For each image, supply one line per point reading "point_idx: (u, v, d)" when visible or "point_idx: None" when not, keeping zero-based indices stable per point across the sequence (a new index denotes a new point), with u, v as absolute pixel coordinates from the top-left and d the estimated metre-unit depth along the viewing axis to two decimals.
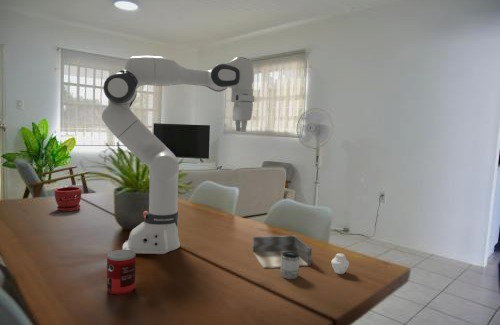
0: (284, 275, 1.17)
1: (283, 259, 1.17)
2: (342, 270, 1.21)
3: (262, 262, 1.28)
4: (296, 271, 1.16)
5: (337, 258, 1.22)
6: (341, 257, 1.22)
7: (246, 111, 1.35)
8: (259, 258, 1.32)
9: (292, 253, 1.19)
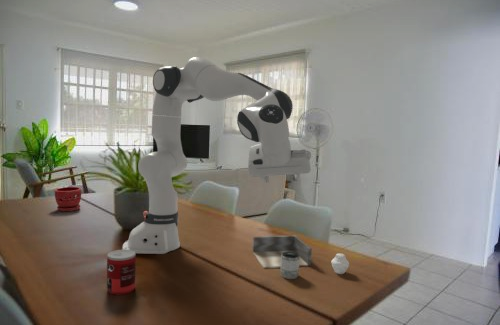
0: (284, 275, 1.17)
1: (283, 259, 1.17)
2: (342, 270, 1.21)
3: (262, 262, 1.28)
4: (296, 271, 1.16)
5: (337, 258, 1.22)
6: (341, 257, 1.22)
7: None
8: (259, 258, 1.32)
9: (292, 253, 1.19)
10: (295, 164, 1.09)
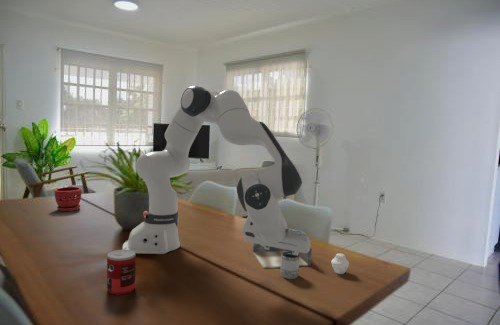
0: (284, 275, 1.17)
1: (283, 259, 1.17)
2: (342, 270, 1.21)
3: (262, 262, 1.28)
4: (296, 271, 1.16)
5: (337, 258, 1.22)
6: (341, 257, 1.22)
7: None
8: (259, 258, 1.32)
9: None
10: (290, 243, 1.01)
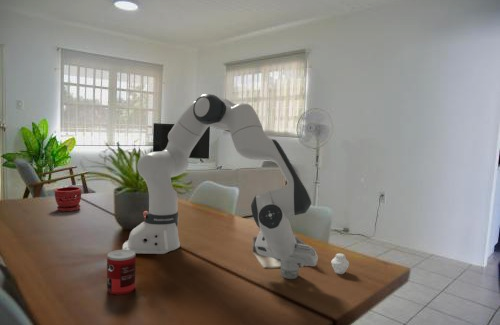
0: (284, 275, 1.17)
1: None
2: (342, 270, 1.21)
3: (262, 262, 1.28)
4: (296, 271, 1.16)
5: (337, 258, 1.22)
6: (341, 257, 1.22)
7: None
8: (259, 258, 1.32)
9: None
10: (299, 257, 1.10)
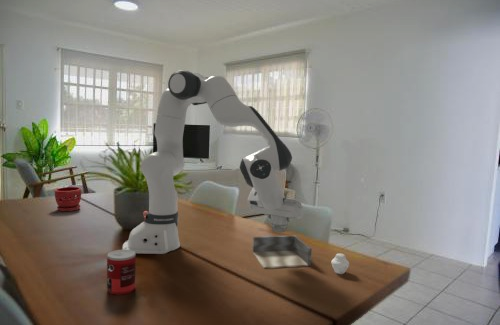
0: (274, 229, 1.29)
1: None
2: (342, 270, 1.21)
3: (262, 262, 1.28)
4: (285, 225, 1.29)
5: (337, 258, 1.22)
6: (341, 257, 1.22)
7: None
8: (259, 258, 1.32)
9: None
10: (287, 210, 1.22)
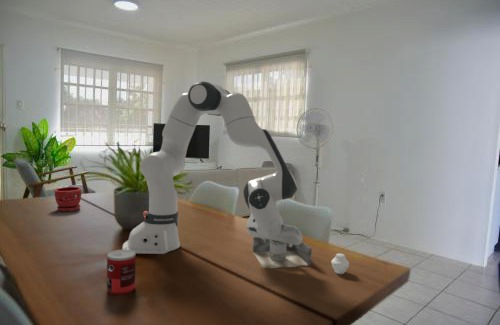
0: (273, 258, 1.30)
1: (272, 243, 1.30)
2: (342, 270, 1.21)
3: (262, 262, 1.28)
4: (283, 254, 1.30)
5: (337, 258, 1.22)
6: (341, 257, 1.22)
7: None
8: (259, 258, 1.32)
9: None
10: (286, 236, 1.23)
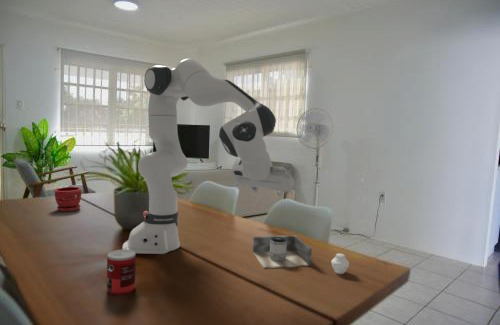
0: (273, 258, 1.30)
1: (272, 243, 1.30)
2: (342, 270, 1.21)
3: (262, 262, 1.28)
4: (283, 254, 1.30)
5: (337, 258, 1.22)
6: (341, 257, 1.22)
7: None
8: (259, 258, 1.32)
9: (280, 238, 1.32)
10: (275, 181, 1.09)
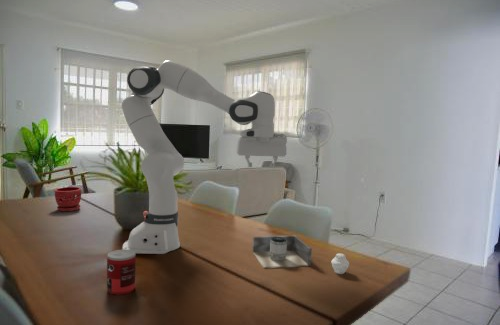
0: (273, 258, 1.30)
1: (272, 243, 1.30)
2: (342, 270, 1.21)
3: (262, 262, 1.28)
4: (283, 254, 1.30)
5: (337, 258, 1.22)
6: (341, 257, 1.22)
7: (237, 146, 1.38)
8: (259, 258, 1.32)
9: (280, 238, 1.32)
10: (275, 145, 1.40)
